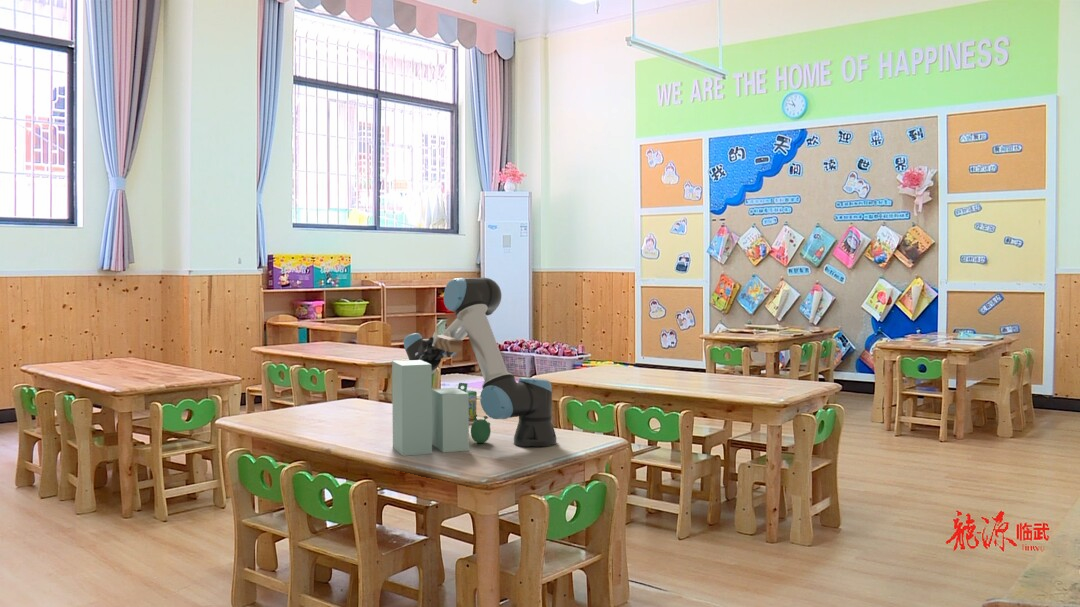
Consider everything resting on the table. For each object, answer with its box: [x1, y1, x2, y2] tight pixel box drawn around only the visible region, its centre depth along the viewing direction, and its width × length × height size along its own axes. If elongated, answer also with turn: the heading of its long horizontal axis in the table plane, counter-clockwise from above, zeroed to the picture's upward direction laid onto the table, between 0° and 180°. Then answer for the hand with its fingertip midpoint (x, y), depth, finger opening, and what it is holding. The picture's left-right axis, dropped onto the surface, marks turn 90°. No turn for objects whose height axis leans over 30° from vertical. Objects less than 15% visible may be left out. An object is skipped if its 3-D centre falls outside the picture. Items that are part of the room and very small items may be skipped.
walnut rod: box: [431, 334, 463, 353], centre depth 309 cm, size 24×4×4 cm, turn 21°
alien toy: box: [470, 414, 491, 444], centre depth 315 cm, size 7×8×10 cm
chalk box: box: [457, 382, 478, 421], centre depth 364 cm, size 9×9×15 cm
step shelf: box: [391, 359, 470, 457], centre depth 304 cm, size 16×23×30 cm
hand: (442, 334), depth 313 cm, fingers closed on walnut rod, 4 cm apart
